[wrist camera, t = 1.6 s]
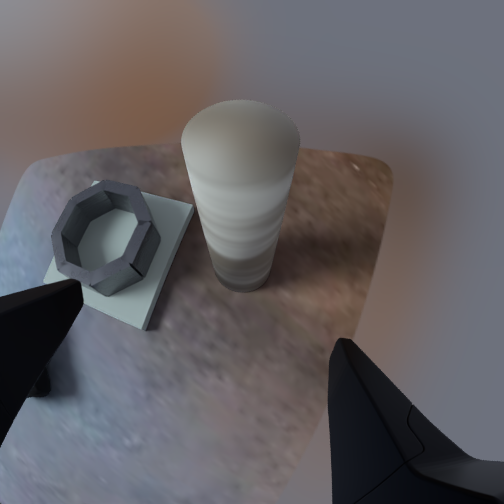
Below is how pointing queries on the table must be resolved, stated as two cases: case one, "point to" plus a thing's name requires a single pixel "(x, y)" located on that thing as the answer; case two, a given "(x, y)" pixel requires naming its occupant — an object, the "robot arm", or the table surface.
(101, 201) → the collar
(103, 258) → the collar board
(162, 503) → the table surface
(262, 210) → the peg
